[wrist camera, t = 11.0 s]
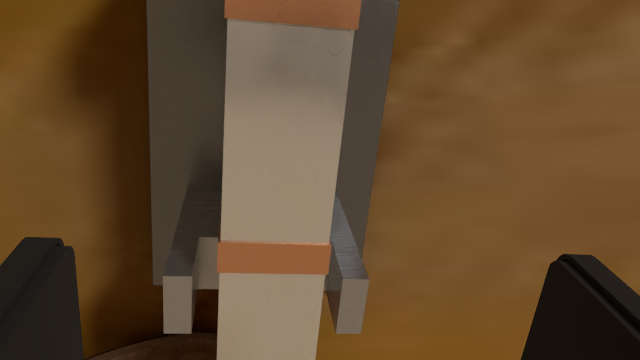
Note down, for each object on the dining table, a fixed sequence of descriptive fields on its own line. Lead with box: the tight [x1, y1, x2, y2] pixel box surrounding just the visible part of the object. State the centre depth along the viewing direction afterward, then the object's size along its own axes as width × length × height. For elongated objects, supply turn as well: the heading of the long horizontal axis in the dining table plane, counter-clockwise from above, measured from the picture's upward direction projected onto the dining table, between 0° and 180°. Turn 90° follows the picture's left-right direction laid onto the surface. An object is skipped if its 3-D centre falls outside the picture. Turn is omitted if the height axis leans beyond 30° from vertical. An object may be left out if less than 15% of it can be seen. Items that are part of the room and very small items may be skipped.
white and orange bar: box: [217, 0, 362, 360], centre depth 22 cm, size 24×5×5 cm, turn 174°
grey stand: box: [146, 0, 400, 334], centre depth 25 cm, size 13×26×10 cm, turn 174°
